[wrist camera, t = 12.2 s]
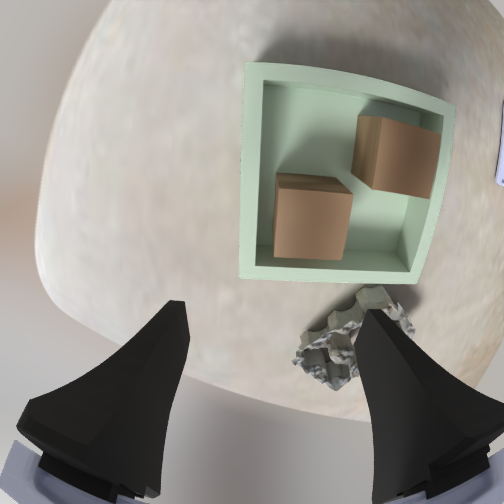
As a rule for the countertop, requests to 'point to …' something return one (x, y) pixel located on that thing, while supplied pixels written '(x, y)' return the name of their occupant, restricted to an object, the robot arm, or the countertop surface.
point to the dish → (333, 171)
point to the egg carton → (345, 338)
